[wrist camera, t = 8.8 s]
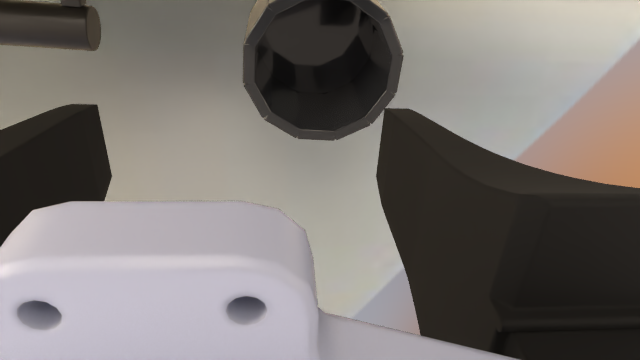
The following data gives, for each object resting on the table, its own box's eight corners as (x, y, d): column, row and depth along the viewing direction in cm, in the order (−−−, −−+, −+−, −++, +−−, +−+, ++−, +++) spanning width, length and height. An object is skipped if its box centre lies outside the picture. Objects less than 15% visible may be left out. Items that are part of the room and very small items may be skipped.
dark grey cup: (386, -32, 19) (415, -7, 15) (367, 94, 22) (387, 143, 18) (251, -44, 19) (244, -22, 15) (248, 87, 22) (242, 136, 17)
